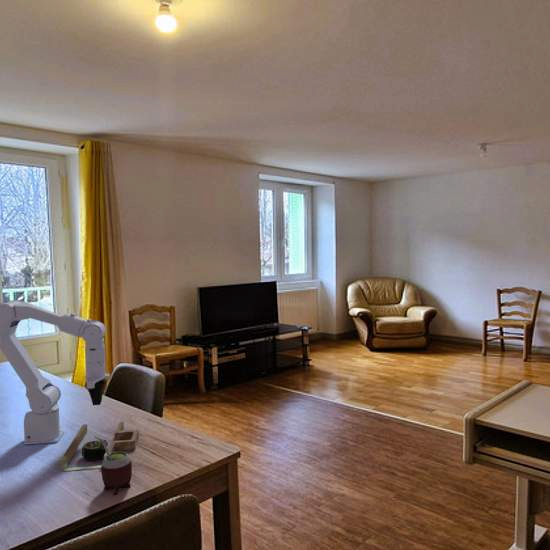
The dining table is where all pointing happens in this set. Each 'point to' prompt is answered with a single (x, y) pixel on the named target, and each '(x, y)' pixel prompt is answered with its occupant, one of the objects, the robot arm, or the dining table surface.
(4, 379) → the dining table surface
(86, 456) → the tape measure
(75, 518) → the dining table surface
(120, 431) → the channel
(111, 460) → the mate gourd
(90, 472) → the dining table surface
